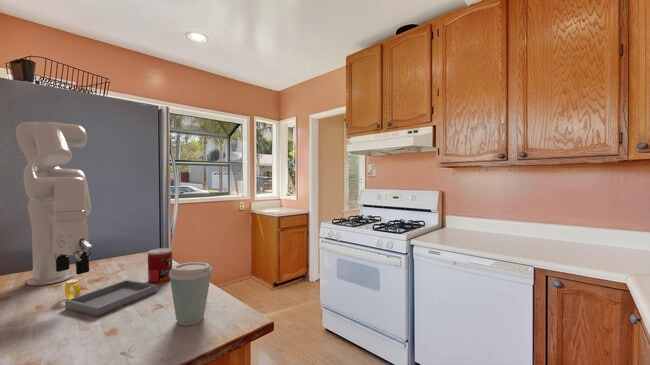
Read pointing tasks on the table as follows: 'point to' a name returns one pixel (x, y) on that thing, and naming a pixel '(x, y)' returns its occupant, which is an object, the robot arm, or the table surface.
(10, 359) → the table surface
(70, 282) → the watch
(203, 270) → the disposable coffee cup
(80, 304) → the tray
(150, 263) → the canned food
